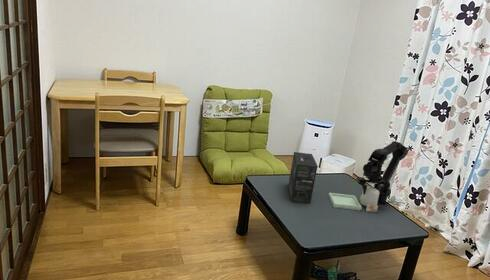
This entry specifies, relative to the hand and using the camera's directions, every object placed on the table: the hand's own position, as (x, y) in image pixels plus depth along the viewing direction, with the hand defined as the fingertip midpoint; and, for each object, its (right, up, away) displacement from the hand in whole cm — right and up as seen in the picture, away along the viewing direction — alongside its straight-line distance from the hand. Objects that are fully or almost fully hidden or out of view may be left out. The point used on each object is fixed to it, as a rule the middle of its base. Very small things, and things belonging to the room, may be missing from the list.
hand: (370, 195), depth 226 cm
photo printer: (-1, -7, +2) cm, 7 cm away
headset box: (-42, -1, +6) cm, 43 cm away
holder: (-1, -7, +2) cm, 7 cm away
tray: (-15, -5, +1) cm, 16 cm away
